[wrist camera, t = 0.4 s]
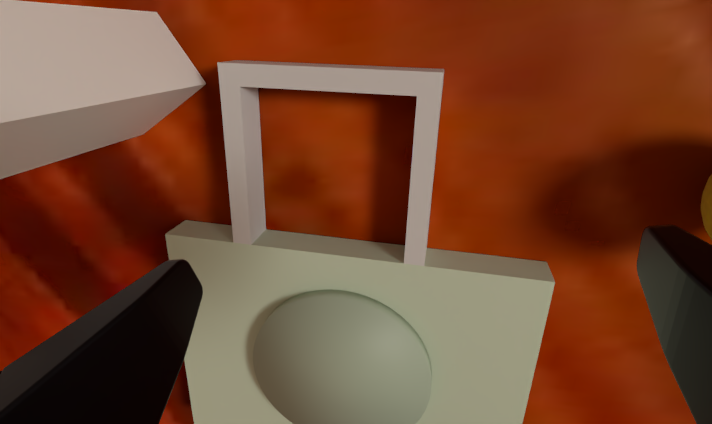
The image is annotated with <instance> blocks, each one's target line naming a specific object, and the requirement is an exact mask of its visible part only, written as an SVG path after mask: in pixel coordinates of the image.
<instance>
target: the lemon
mask: <svg viewBox="0 0 712 424" xmlns="http://www.w3.org/2000/svg"><path fill="white" fill-rule="evenodd" d="M701 214H702V219H703V224H704V227H705V230H706V232H707V233H708V235H709V237H710V238H711V240H712V174H711V176H710V177H709V178H708V181H707V183H706V186H705V188H704V190H703V193H702V200H701Z"/></svg>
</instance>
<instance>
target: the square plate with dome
mask: <svg viewBox="0 0 712 424" xmlns="http://www.w3.org/2000/svg"><path fill="white" fill-rule="evenodd" d="M217 63H218V75H219V86H220V97H221V108H222V120H223V131H224V142H225V154H226V165H227V176H228V188H229V199H230V210H231V222H232V225H224V224H215V223H206V222H198V221H189V220H185V221H184V222H182V223H181V224H179V225H178V226H176V227H175V228H173V229H172V230H170V231H169V232H167V233H166V234H165V237H166V244H167V250H168V257H169V260H177V259H184V260H186V261H188V262H189V264H190V265H191V267H192V269H193V270H194V272H195V274H196V276H197V277H198V279H199V281H200V283H201V285H202V288H203V296H202V300H201V303H200V307H199V310H198V314H197V317H196V321H195V324H194V328H193V331H192V335H191V338H190V342H189V345H188V348H187V352H186V355H185V358H184V361H185V368H186V374H187V381H188V387H189V394H190V400H191V407H192V413H193V420H194V424H522V423H523V418H524V414H525V410H526V405H527V401H528V397H529V392H530V388H531V384H532V379H533V375H534V371H535V367H536V362H537V358H538V354H539V349H540V345H541V341H542V336H543V332H544V328H545V323H546V319H547V315H548V311H549V306H550V302H551V298H552V293H553V289H554V285H555V281H554V278H553V276H552V274H551V271H550V269H549V266H548V264H547V262H544V261H535V260H526V259H518V258H509V257H500V256H492V255H483V254H474V253H466V252H457V251H449V250H440V249H431V248H427V239H428V229H429V219H430V209H431V198H432V188H433V178H434V168H435V158H436V148H437V138H438V128H439V118H440V108H441V98H442V88H443V78H444V69H430V68H407V67H383V66H360V65H337V64H313V63H290V62H266V61H243V60H235V61H226V62H217ZM258 88H274V89H293V90H311V91H330V92H348V93H367V94H385V95H403V96H417V101H416V113H415V126H414V139H413V152H412V164H411V177H410V190H409V203H408V216H407V228H406V241H405V245H397V244H388V243H379V242H371V241H362V240H353V239H345V238H336V237H328V236H319V235H310V234H302V233H293V232H284V231H276V230H267V229H266V219H265V202H264V184H263V166H262V148H261V130H260V112H259V95H258Z"/></svg>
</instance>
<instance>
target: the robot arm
mask: <svg viewBox="0 0 712 424" xmlns="http://www.w3.org/2000/svg"><path fill="white" fill-rule="evenodd" d="M637 272H638V276H639V279H640V282H641V285H642V288H643V291H644V294H645V297H646V301H647V304H648V307H649V310H650V313H651V316H652V319H653V322H654V325H655V328H656V331H657V334H658V337H659V340H660V343H661V346H662V349H663V352H664V354H665V357H666V359H667V361H668V363H669V366H670V368H671V370H672V372H673V374H674V377H675V379H676V381H677V383H678V385H679V387H680V389H681V391H682V393H683V396H684V398H685V400H686V402H687V404H688V406H689V408H690V410H691V413H692V415H693V417H694V419H695V421H696V423H697V424H712V245H711V244H709V243H707V242H705V241H703V240H701V239H700V238H698V237H696V236H694V235H692V234H690V233H689V232H687V231H685V230H683V229H681V228H679V227H677V226H675V225H656V226H648V227H646V228H645V229H644V231H643V234H642V238H641V244H640V249H639V254H638V260H637ZM202 296H203V288H202V285H201V283H200V281H199V279H198V277H197V276H196V274H195V272H194V270H193V269H192V267H191V265H190V264H189V262H188V261H186V260H184V259H177V260H168V261H166V262H164V263H162V264H161V265H159V266H158V267H156V268H155V269H153V270H152V271H150V272H149V273H147V274H146V275H144V276H143V277H141V278H140V279H138V280H137V281H135V282H134V283H132V284H131V285H129V286H128V287H126V288H125V289H123V290H121V291H120V292H118V293H117V294H115V295H114V296H112V297H111V298H109V299H108V300H106V301H105V302H103V303H102V304H100V305H99V306H97V307H96V308H94V309H93V310H91V311H90V312H88V313H87V314H85V315H84V316H82V317H81V318H79V319H78V320H76V321H75V322H73V323H72V324H70V325H69V326H67V327H66V328H64V329H62V330H61V331H59V332H58V333H56V334H55V335H53V336H52V337H50V338H49V339H47V340H46V341H44V342H43V343H41V344H40V345H38V346H37V347H35V348H34V349H32V350H31V351H29V352H28V353H26V354H25V355H23V356H22V357H20V358H19V359H17V360H16V361H14V362H13V363H11V364H10V365H8V366H7V367H5V368H4V369H3V371H0V424H159V422H160V419H161V417H162V414H163V412H164V409H165V407H166V404H167V401H168V399H169V396H170V394H171V391H172V389H173V386H174V384H175V381H176V379H177V376H178V374H179V371H180V369H181V366H182V363H183V361H184V358H185V355H186V352H187V348H188V345H189V342H190V338H191V335H192V331H193V328H194V324H195V321H196V317H197V314H198V310H199V307H200V303H201V300H202Z"/></svg>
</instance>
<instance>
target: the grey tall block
mask: <svg viewBox="0 0 712 424" xmlns="http://www.w3.org/2000/svg"><path fill="white" fill-rule="evenodd" d="M204 85H206V82H205V81H204V79H203V78H202V77H201V75H200V74H199V72H198V71H197V69H196V68H195V66H194V65H193V64H192V62H191V61H190V59H189V58H188V56H187V55H186V54H185V52H184V51H183V49H182V48H181V46H180V45H179V43H178V42H177V41H176V39H175V38H174V36H173V35H172V33H171V32H170V31H169V29H168V28H167V26H166V25H165V23H164V22H163V20H162V19H161V18H160V16H159V15H158V13H157V12H148V11H136V10H124V9H112V8H100V7H88V6H76V5H64V4H52V3H39V2H27V1H15V0H0V179H2V178H6V177H9V176H12V175H15V174H18V173H22V172H25V171H28V170H31V169H34V168H38V167H41V166H44V165H47V164H50V163H53V162H57V161H60V160H63V159H66V158H69V157H73V156H76V155H79V154H82V153H85V152H88V151H92V150H95V149H98V148H101V147H104V146H108V145H111V144H114V143H117V142H120V141H123V140H127V139H130V138H133V137H136V136H139V135H143V134H144V133H146V132H147V131H148V130H149V129H151V128H152V127H153V126H154V125H156V124H157V123H158V122H159V121H161V120H162V119H163V118H164V117H166V116H167V115H168V114H169V113H171V112H172V111H173V110H174V109H176V108H177V107H178V106H179V105H181V104H182V103H183V102H184V101H186V100H187V99H188V98H189V97H191V96H192V95H193V94H194V93H196V92H197V91H198V90H199V89H201V88H202V87H203V86H204Z"/></svg>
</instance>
